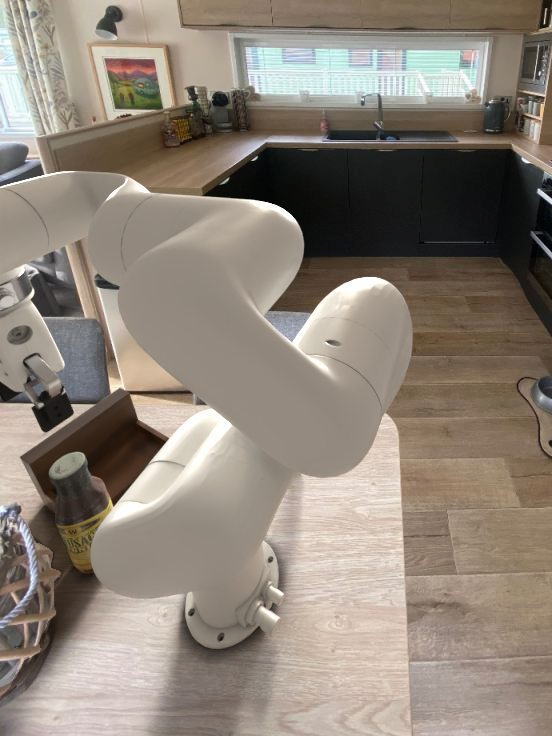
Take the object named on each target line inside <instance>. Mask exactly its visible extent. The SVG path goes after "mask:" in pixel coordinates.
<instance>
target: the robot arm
mask: <svg viewBox="0 0 552 736" xmlns="http://www.w3.org/2000/svg"><path fill="white" fill-rule="evenodd" d="M303 235H304V234H303V231H302V229H301V227H300V225H299V222H298V221H297V220H296V218H294V217H293V215H292V214H290V213H289V212H288V211H286V210H285V209H284V208H282V207H280V206H278V205H276V204H272V203H269V202H265V201H260V200H255V199H245V198H231V197H219V196H218V197H217V196H200V195H189V194H188V195H187V194H172V193H160V192H150V191H149V190H148V189H147V188H146V187H145V186H143V185H142V184H141V183H140V182H138V181H136V180H134V179H133V178H131V177H129V176H127V175H125V174H121V173H114V172H101V171H84V170H83V171H81V170H80V171H79V170H76V171H75V170H74V171H73V170H72V171H59V172H54V173H49V174H45V175H41V176H36V177H32V178H29V179H24V180H20V181H17V182H13V183H10V184H6V185H2V186H0V399H1V400H2V401H3V402H9V401H11V400H13V399H14V398H16V397H18V396H19V395H21V394H22V393H24V394H25V395H26V397H27V398H28V399H29V400H30V402H31V403H32V404H33V406H31V407H30V409H31V411H32V413H33V415H34V417H35V420H36V421H37V424H38V426H39V428H40V430H41V432H43V433H45V434H47V433H49V432H50V431H52V430H53V429H54V428H56V427H58V426H59V425H60V424H62V423H64V422H65V421H66V420H68V419H69V418H71V417H72V416H73V415H74V414H75V411H74V408H73V406H72V404H71V401H70V399H69V397H68V394H67V391H66V388H65V385H63V383H62V379H61V378H60V377H59V375H58V374H57V373H59V372H60V371H63V370H64V369H65V365H66V364H65V361H64V358H63V356H62V355H61V352H60V350H59V348H58V346H57V344H56V341H55V339H54V338H53V336H52V334H51V331H50V330H49V328H48V325H47V324H46V321H45V320H44V318H43V316H42V315H41V313H40V312H39V310H38V308H37V307H36V305H35V304H34V303H33V301H32V298H33V297H34V295H35V289H34V287H33V285H32V281H31V279H30V277H29V275H28V272H27V269H26V267H25V265H27V264H29V263H31V262H33V261H35V260H38V259H40V258H42V257H44V256H46V255H48V254H51V253H53V252H55V251H57V250H60V249H62V248H64V247H66V246H69V245H71V244H73V243H77V242H78V241H80V240H83V239H85V238H87V240H86V246H87V247H86V248H87V255H88V257H89V260H90V263H91V265H92V267H93V269H94V270H95V272H96V273H97V274H98V275H99V276H100V277H101V278H102V279H104V280H105V281H106V282H108V283H110V284H112V285H114V286H118V287H119V288H118V292H117V305H118V312H119V315H120V317H121V320H122V321H123V324H124V326H125V328H126V330H127V331H128V333H129V334H130V335H131V337H132V338H133V340H134V341H135V342H136V344H137V345H138V346H139V347H140V348H141V349H142V351H143V352H144V353H145V354H147V355H148V356H149V357H150V358H151V359H152V360H154V361H155V362H156V364H157V365H159V366H160V368H162V369H163V370H164V371H165V372H166V373H168V374H169V375H170V376H171V377H173V379H175V380H176V381H177V382H178V383H179V384H181V385H182V386H183V387H184V388H185V389H187V390H188V391H189V392H190V393H192V394H193V395H194V396H195V397H197V398H198V399H199V400H201V401H202V402H203V403H205V404H206V405H207V406H208V407H209V408H208V409H205V410H201V411H199V412H197V413H195V414H194V415H192V416H191V417H190V418H188V419H187V420H186V421H185V422H183V423H182V425H180V426H179V427H178V429H176V430H175V431H174V432H173V434H172V435H171V436H170V437H168V438H169V440H168V441H167V442H166V443H165V444H164V446H163V447H162V448H161V449H160V451H159V452H158V453H157V454H156V455H155V457H154V458H153V459H152V460H151V461H150V463H149V464H148V465H147V466H146V468H145V469H144V471H143V472H142V473H141V474H140V476H139V477H138V478H137V479H136V480H135V482H134V483H133V484H132V485H131V487H130V488H129V489H128V490H127V491H126V493H125V494H124V495H123V496H122V497H121V499H120V500H119V501H118V502H117V504H116V505H115V506H114V507H113V509H112V510H111V511H110V512H109V514H108V515H107V516H106V518H105V519H104V520H103V522H102V523H101V524H100V526H99V528H98V529H97V531H96V533H95V535H94V538H93V541H92V545H91V552H90V558H91V564H92V568H93V570H94V573H93V574H94V575H95V576H96V578H97V580H98V581H99V582H100V583H101V584H102V585H103V586H104V587H105V588H106V589H108V590H109V591H111V592H113V593H115V594H116V595H119V596H122V597H126V598H131V599H136V600H151V599H160V598H167V597H171V596H176V595H181V594H186V596H185V600H184V601H185V602H184V618H185V622H186V626H187V628H188V631H189V633H190V635H191V636H192V637H193V639H194V640H195V641H196V643H198V644H200V645H201V646H203V647H205V648H209V649H213V650H214V649H215V650H219V649H221V650H222V649H227V648H230V647H233V646H235V645H237V644H239V643H240V642H243V641H244V640H245V639H246V638H248V637H249V636H251V635H252V634H253V632H255V631H256V630H257V629H258V628H259V627H260V629H261V630H262V632H264V633H265V634H267V636H269V637H270V638H273V637H274V636H275V635H276V634H277V632H278V630H279V629H280V625H281V624H282V618H281V617H280V616H278V615H277V614H276V613H274V612H273V611H272V610H271V608H272V606H273V604H275V605H276V606H278V607H281V606H282V604H283V603H284V600H285V598H286V594H285V593H284V592H283V591H281V590H280V589H278V587H279V578H280V577H279V576H280V574H279V573H280V572H279V564H278V560H277V556H276V554H275V551H274V550H273V549H272V547H271V546H270V544H269V543H267V542H266V541H265V538H266V536H267V534H268V533H269V529H270V527H271V525H272V523H273V521H274V518H275V517H276V514H277V512H278V510H279V508H280V505H281V504H282V501H283V499H284V497H285V495H286V493H287V492H288V490H289V488H290V486H291V484H292V483H293V482H294V480H295V479H296V477H297V476H299V475H300V474H301V475H303V476H308V477H312V478H318V479H319V478H320V479H326V478H328V479H329V478H336V477H339V476H342V475H343V476H344V475H345V474H347V473H349V472H351V471H353V470H354V469H355V468H356V467H358V466H359V465H360V464H361V462H362V461H363V460H364V459H365V457H366V456H367V455H368V453H369V452H370V450H371V448H372V446H373V444H374V442H375V439H376V437H377V434H378V431H379V429H380V425H381V423H382V420H383V416H384V415H385V414H386V413H387V411H388V410H389V408H390V406H391V405H392V403H393V401H394V399H395V398H396V396H397V395H398V392H399V391H400V388H401V387H402V384H403V382H404V379H405V377H406V374H407V371H408V369H409V365H410V363H411V358H412V352H413V342H414V332H413V331H414V330H413V322H412V316H411V312H410V309H409V305H408V304H407V302H406V300H405V297H404V296H403V294H402V293H401V292H400V290H398V288H397V287H396V286H395V285H394V284H392V282H389V281H388V280H386V279H382V278H380V277H373V276H371V277H370V276H369V277H368V276H366V277H359V278H355V279H352V280H350V281H348V282H344V283H342V284H341V285H339V286H338V287H336V288H335V289H333V290H332V291H331V292H329V293H328V294H327V295H326V296H324V298H323V299H322V300H321V301H320V302H319V303H318V305H317V306H316V307H315V308H314V310H313V312H312V313H311V314H310V316H309V317H308V319H307V320H306V321H305V323H304V324H303V326H302V327H301V329H299V331H298V333H297V334H296V336H295V337H294V338H293V340H292V341H291V340H290V339H289V338H287V337H286V336H285V335H284V334H283V333H282V332H281V331H279V330H278V329H277V328H276V327H275V326H274V325H273V324H272V323H271V322H269V320H267V318H266V317H264V316H265V315H266V314H267V312H268V311H270V309H271V308H273V306H274V305H275V303H276V302H277V301H278V300H279V299H280V298H281V296H282V295H283V294H284V293H285V292H286V290H287V289H288V288H289V286H290V285H291V283H292V282H293V281H294V280H295V277H296V276H297V274H298V272H299V271H300V268H301V264H302V262H303V258H304V253H305V250H304V249H305V240H304V236H303ZM31 376H34V379H33V380H32V378H31ZM39 384H41V386H42V387H41V388H42V389H43V391H41V392H40V394H39V395H38V393H37V391H35V389H34V387H36V386H37V385H39Z"/></svg>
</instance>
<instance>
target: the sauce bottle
mask: <svg viewBox="0 0 552 736" xmlns="http://www.w3.org/2000/svg"><path fill="white" fill-rule="evenodd" d="M87 464H88V463H87V459H86V457H85V455H84V454H83V453H81V452H74V453H69V454H67V455H65V456H63V457H61V458H60V459H59V460H57V461H56V462H55V463H54V464H53V465H52V467H51V468H50V470H49V478H50V481H51V483H52V484H53V485H55V488H56V490H57V497H56V501H55V513H54V514H55V516H54V517H55V518H54V519H55V525H56V528H57V530H58V532H59V535H60V537H61V539H62V541H63V544H64V547H65V549H66V551H67V553H68V556H69V558H70V560H71V562H72V565H73V566H74V567H75V568H76V570H77V571H78V572H80V573H83V574H86V575H89V574H95V573H94V570H93V568H92V564H91V558H90V552H91V545H92V541H93V538H94V535H95V533H96V531H97V529H98V528H99V526H100V524H101V523H102V522H103V520H104V519H105V518H106V516H107V515H108V514H109V512H110V511H111V510H112V509H113V504H112V502H111V499H110V496H109V493H108V492H107V490H106V486H105V484H104V482H103V481H102V479H100V478H98V477H94V476H91V473H89V471H88V468H87Z"/></svg>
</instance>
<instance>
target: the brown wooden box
mask: <svg viewBox="0 0 552 736" xmlns="http://www.w3.org/2000/svg"><path fill="white" fill-rule="evenodd" d="M134 405H135V404H134V402H133V400H132V396H131V394H130V392H129V391H127V390H125V389H124V388H122V387H119V388H117V389H116V390H114V391H113V392H112V393H109V395H107V396H106V397H104V398H103V399H101V400H100V401H98V402H96V403H95V404H94V405H92V406H91V407H90V408H88V409H86V410H85V411H84V412H82V413H81V414H79V415H78V416H76V417H75V418H73V419H72V420H71V421H69V422H67V423H66V424H65V425H64V426H62V427H61V428H59V429H57V430H56V431H55V432H53V433H52V434H50V435H49V436H48V437H46V438H45V439H43V440H42V441H40V442H39V443H38V444H36V445H34V446H33V447H32V448H30V449H29V450H27V451H26V452H24V453H23V454H21V455H20V456H19V459H20V461H21V462H22V464H23V466H24V468H25V470H26V472H27V474H28V476H29V477H30V480H31V482H32V484H33V485H34V487H35V489H36V491H37V493H38V495H39V497H40V499H41V500H42V501H41V502H42V503H43V504H44V506H46V508H48V509H49V510H50V511H51V512H52V513H54V514H55V501H56V497H57V490H56V488H55V485H53V484H52V483H51V481H50V478H49V470H50V468H51V467H52V465H53V464H54V463H55V462H56V461H57V460H59V459H60V458H61V457H63V456H65V455H67V454H69V453H74V452H81V453H83V454H84V455H85V457H86V459H87V463H88V464H87V468H88V471H89V473H91V476H94V477H98V478H100V479H102V481H103V482H104V484H105V486H106V490H107V492H108V493H109V496H110V499H111V502H112V504H113V507H114V506H115V505H116V504H117V502H118V501H119V500H120V499H121V497H122V496H123V495H124V494H125V493H126V491H127V490H128V489H129V488H130V487H131V485H132V484H133V483H134V482H135V480H136V479H137V478H138V477H139V476H140V474H141V473H142V472H143V471H144V469H145V468H146V466H147V465H148V464H149V463H150V461H151V460H152V459H153V458H154V457H155V455H156V454H157V453H158V452H159V451H160V449H161V448H162V447H163V446H164V444H165V443H166V442H167V441H168V440H169V438H170V437H168V436H167V435H165V434H164V433H162V432H160V431H159V430H157V429H155V428H153V427H152V426H150V425H148V424H147V423H145V422H143V420H140V419H139V418H138V415H137V411H136V408H135V406H134Z"/></svg>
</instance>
